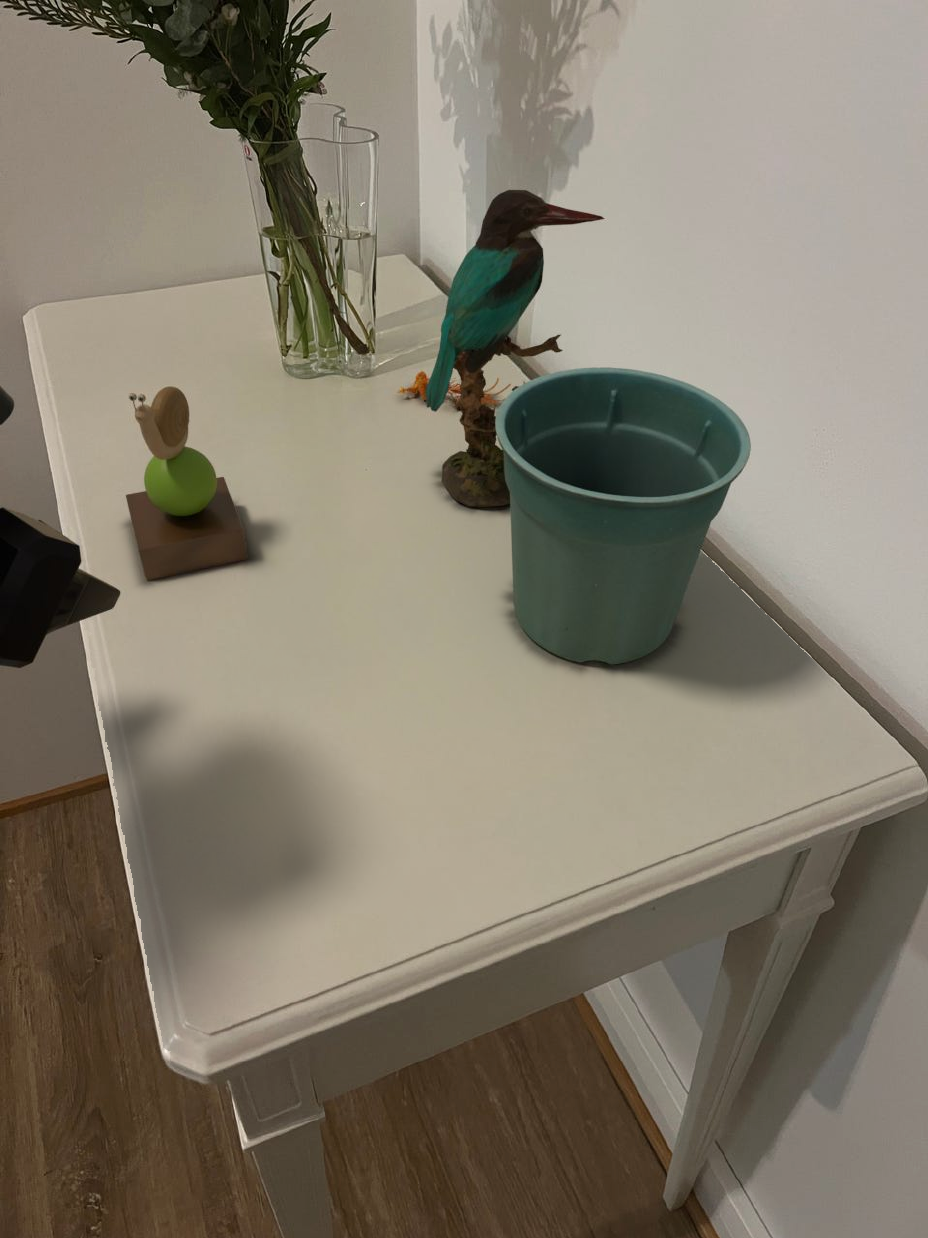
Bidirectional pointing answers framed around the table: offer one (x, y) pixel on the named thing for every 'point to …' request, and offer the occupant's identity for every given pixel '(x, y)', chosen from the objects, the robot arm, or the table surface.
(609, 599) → the flower pot
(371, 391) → the table surface
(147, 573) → the riser
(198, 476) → the snail figurine
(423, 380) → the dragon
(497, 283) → the sculpture
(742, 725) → the table surface
